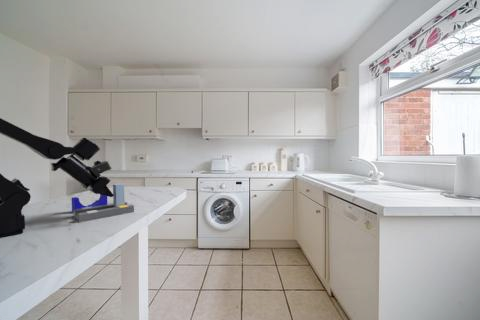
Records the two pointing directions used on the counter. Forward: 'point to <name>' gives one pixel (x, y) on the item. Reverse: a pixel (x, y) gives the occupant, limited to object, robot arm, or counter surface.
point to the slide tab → (118, 195)
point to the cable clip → (101, 201)
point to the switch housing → (101, 211)
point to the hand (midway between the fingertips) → (112, 196)
